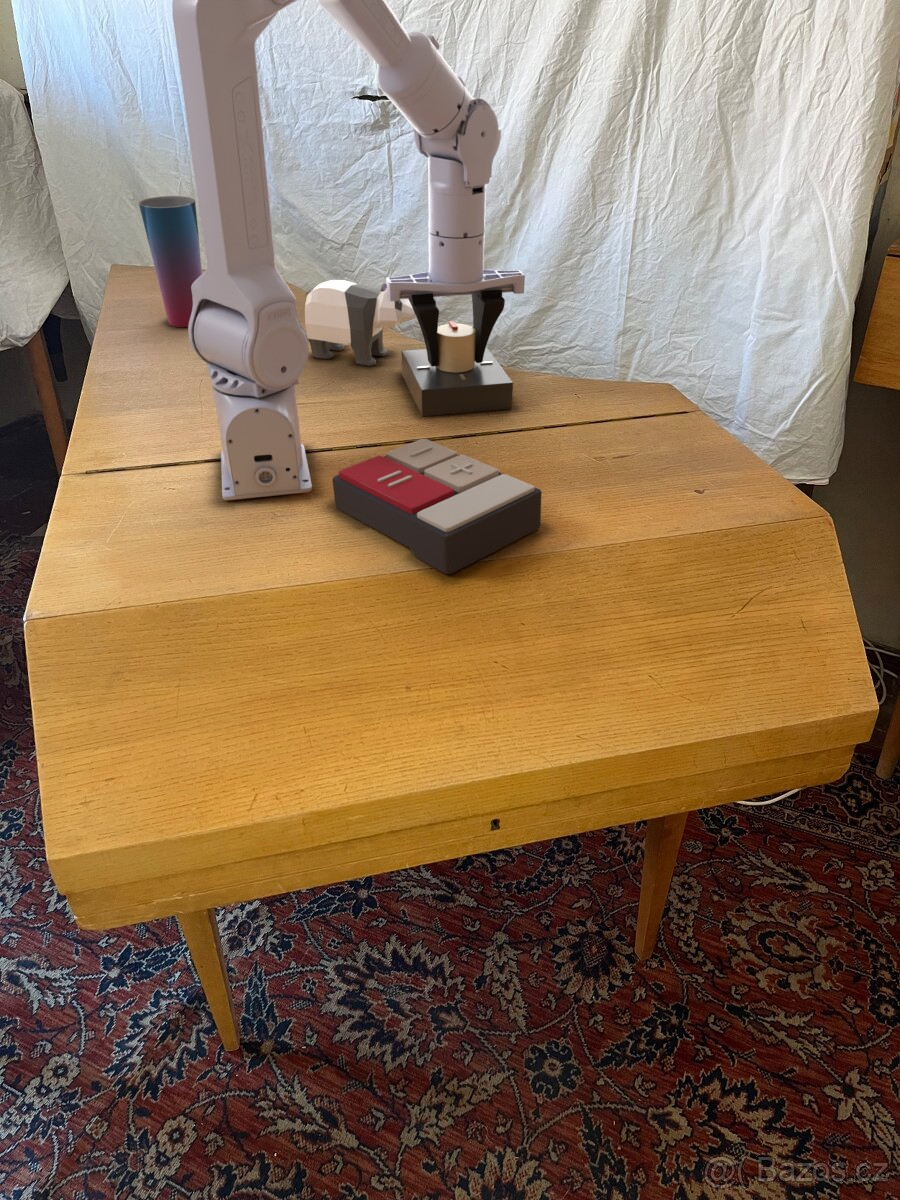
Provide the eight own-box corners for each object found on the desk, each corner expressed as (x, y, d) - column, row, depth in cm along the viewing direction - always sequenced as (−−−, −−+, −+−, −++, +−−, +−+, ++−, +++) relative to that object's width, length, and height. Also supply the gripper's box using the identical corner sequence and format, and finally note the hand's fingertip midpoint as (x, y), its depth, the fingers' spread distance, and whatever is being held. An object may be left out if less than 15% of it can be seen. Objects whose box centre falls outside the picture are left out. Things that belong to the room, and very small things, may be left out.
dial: (479, 371, 94) (480, 332, 92) (440, 374, 93) (440, 335, 91) (469, 357, 98) (470, 319, 95) (431, 359, 97) (431, 321, 94)
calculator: (424, 432, 80) (544, 481, 71) (426, 474, 82) (542, 527, 73) (328, 469, 74) (446, 528, 65) (333, 513, 76) (448, 576, 67)
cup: (160, 315, 118) (138, 197, 109) (211, 311, 120) (193, 194, 111) (162, 331, 113) (139, 208, 104) (215, 327, 114) (196, 205, 106)
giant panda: (301, 357, 106) (293, 277, 100) (322, 342, 110) (315, 265, 104) (411, 373, 102) (409, 291, 96) (428, 357, 106) (427, 278, 100)
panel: (511, 409, 94) (513, 381, 92) (421, 416, 92) (421, 388, 90) (484, 369, 103) (484, 343, 101) (402, 375, 101) (401, 349, 99)
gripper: (514, 219, 92) (507, 344, 100) (380, 225, 89) (384, 353, 97) (533, 235, 86) (525, 366, 94) (391, 242, 84) (395, 376, 92)
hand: (455, 361), depth 95 cm, fingers open, 4 cm apart
